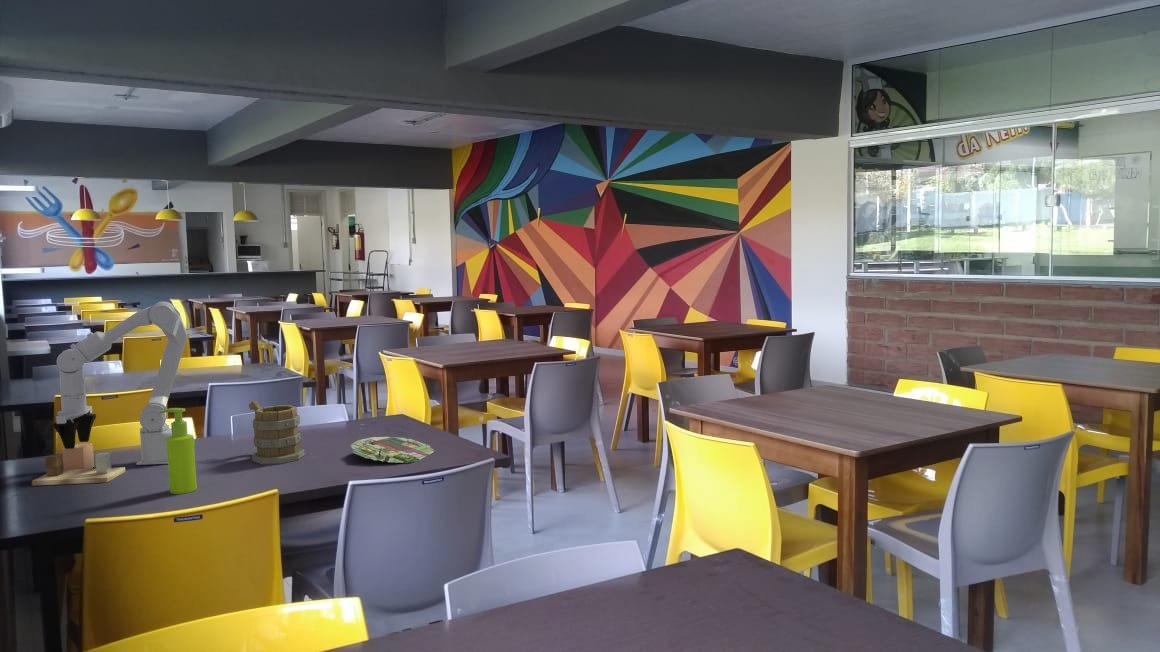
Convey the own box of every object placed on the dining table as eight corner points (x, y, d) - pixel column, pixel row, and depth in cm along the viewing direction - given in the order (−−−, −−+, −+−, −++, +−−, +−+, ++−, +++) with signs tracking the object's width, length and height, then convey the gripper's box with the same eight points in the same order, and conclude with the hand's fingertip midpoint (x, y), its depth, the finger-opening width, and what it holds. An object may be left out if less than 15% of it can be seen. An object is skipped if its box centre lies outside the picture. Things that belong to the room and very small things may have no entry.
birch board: (125, 471, 219) (125, 467, 219) (107, 482, 209) (107, 477, 209) (53, 474, 218) (53, 470, 218) (32, 485, 208) (31, 480, 208)
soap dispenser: (171, 487, 203) (165, 406, 201) (200, 486, 204) (195, 405, 202) (161, 494, 197) (155, 411, 195) (191, 493, 198) (185, 410, 196)
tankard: (311, 457, 230) (308, 404, 229) (267, 466, 221) (264, 411, 219) (276, 446, 244) (273, 396, 242) (234, 455, 234) (230, 402, 233)
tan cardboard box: (94, 467, 225) (92, 443, 224) (84, 472, 220) (82, 447, 219) (74, 468, 224) (72, 444, 224) (64, 473, 219) (62, 448, 219)
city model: (414, 476, 216) (416, 454, 215) (331, 463, 220) (333, 441, 220) (448, 454, 240) (450, 434, 240) (373, 443, 245) (374, 423, 244)
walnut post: (63, 473, 214) (61, 454, 214) (57, 476, 212) (56, 456, 211) (52, 473, 214) (50, 454, 214) (47, 476, 211) (45, 457, 211)
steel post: (111, 471, 215) (110, 452, 215) (107, 473, 213) (105, 454, 212) (101, 471, 215) (99, 452, 215) (96, 474, 213) (94, 455, 212)
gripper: (71, 390, 227) (75, 439, 228) (42, 399, 213) (46, 452, 214) (98, 389, 228) (102, 438, 229) (71, 399, 213) (75, 451, 214)
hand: (77, 445), depth 221 cm, fingers open, 7 cm apart
